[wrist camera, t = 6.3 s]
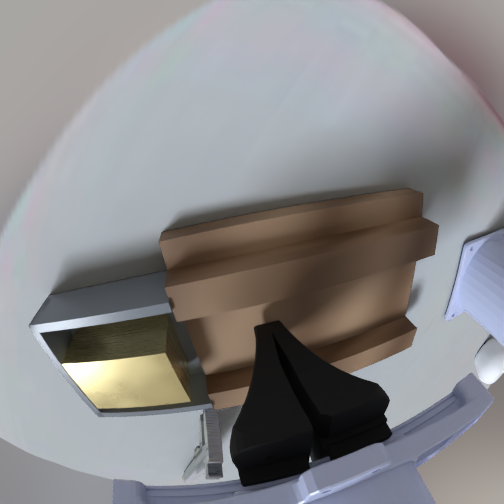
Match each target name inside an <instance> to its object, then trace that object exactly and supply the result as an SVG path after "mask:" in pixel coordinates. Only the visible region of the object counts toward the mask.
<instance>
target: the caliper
mask: <svg viewBox="0 0 504 504" xmlns="http://www.w3.org/2000/svg"><path fill="white" fill-rule="evenodd" d="M222 463H223V453H222V441H221V432H220V426H219V419H218V412H217V410H215V408H214V407H213V408H208V409H203V415H200V446H197V447H196V449H195V458H194V459H193V461H192V462H191V464H190V465H189V466H188V468H187V469H186V470H185V471H184V474H183V478H182V479H183V480H184V483H192V482H193V481H195V480H196V479H197V478H198V477H200V476H201V475H206V479H219V478H223V472H222Z"/></svg>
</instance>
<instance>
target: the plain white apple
mask: <svg viewBox="0 0 504 504" xmlns="http://www.w3.org/2000/svg"><path fill="white" fill-rule="evenodd" d="M475 365H476V369H477V373H478V376H479V378H480V380H481V381H483V382H484V383H487V384H491V383H494V382H495V381H496V380H497V379H498V378H499V377H500V376H501V375H502V373H503V372H504V346H503V345H502V344H501V343H499V342H498V341H497V340H496V339H489V340H487V342H486V343H485V344H484V345H483V346H482V347H481V349H480V350H479V352H478V353H477V354H476V357H475Z"/></svg>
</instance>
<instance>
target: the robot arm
mask: <svg viewBox="0 0 504 504" xmlns="http://www.w3.org/2000/svg"><path fill="white" fill-rule="evenodd" d="M464 311H466V312H467V313H468V314H469V315H470V316H471V317H472V318H474V319H475V320H476V321H477V322H478V323H479V324H480V325H481V326H482V327H484V328H485V329H486V330H487V331H488V332H489V333H490V334H491V335H492V336H493V337H494V338H495V339H496V340H497V341H498V342H499V343H501V344H502V345H503V346H504V228H503V229H500V230H498V231H495V232H493V233H490V234H488V235H485V236H483V237H480V238H478V239H475V240H472V241H470V242H467V243H466V244H465V245H464V247H463V251H462V256H461V261H460V265H459V269H458V273H457V277H456V281H455V285H454V289H453V292H452V296H451V299H450V302H449V306H448V309H447V312H446V315H445V319H446V320H447V321H449V320H451V319H453V318H454V317H456V316H458V315H459V314H461V313H463V312H464ZM254 333H255V338H256V351H255V362H254V369H253V374H252V379H251V383H250V387H249V390H248V393H247V397H246V399H245V402H244V404H243V407H242V409H241V412H240V414H239V416H238V418H237V420H236V422H235V424H234V426H233V429H232V434H231V439H230V454H231V458H232V462H233V463H234V464H235V466H236V467H237V469H238V472H239V477H240V479H239V480H233V481H226V482H218V483H209V484H197V485H180V486H145V485H144V484H143V483H141V482H139V481H134V480H120V479H114V480H113V504H436V503H435V501H434V499H433V497H432V495H431V493H430V492H429V490H428V488H427V486H426V485H425V483H424V481H423V479H422V477H421V476H420V474H419V472H418V471H417V469H416V468H417V467H418V466H420V465H421V464H423V463H424V462H426V461H427V460H429V459H430V458H432V457H433V456H434V455H436V454H437V453H439V452H440V451H441V450H442V449H444V448H445V447H447V446H448V445H449V444H450V443H451V442H453V441H454V440H455V439H456V438H458V437H459V436H460V435H462V434H463V433H464V432H465V431H466V430H467V429H469V428H470V427H471V426H472V425H473V424H475V423H476V421H477V420H478V419H479V418H480V417H481V416H482V415H483V413H484V412H485V411H486V410H487V409H488V408H489V406H490V405H491V404H492V402H494V398H493V397H492V396H491V394H490V393H489V392H488V391H487V389H486V388H485V387H484V386H483V385H482V384H481V382H480V381H479V380H478V379H477V378H476V377H475V375H474V374H473V373H470V374H469V375H467V376H466V377H465V378H463V379H462V380H461V381H460V382H458V383H457V385H456V386H455V387H454V389H453V391H452V392H451V393H450V394H448V395H447V396H446V397H444V398H443V399H441V400H440V401H438V402H437V403H435V404H434V405H432V406H431V407H429V408H427V409H426V410H424V411H423V412H421V413H419V414H418V415H416V416H414V417H412V418H411V419H409V420H407V421H405V422H404V423H402V424H400V425H398V426H396V427H394V428H392V429H391V430H390V428H389V427H388V425H387V423H386V422H387V418H386V417H385V415H384V413H385V411H386V409H387V407H388V404H389V401H390V400H389V397H388V396H387V394H386V393H385V391H384V390H383V389H382V388H381V387H380V386H379V385H378V384H377V383H374V382H371V381H367V380H364V379H361V378H358V377H356V376H353V375H351V374H349V373H347V372H345V371H343V370H340V369H338V368H336V367H335V366H333V365H331V364H329V363H328V362H326V361H325V360H323V359H322V358H320V357H319V356H317V355H316V354H315V353H313V352H312V351H311V350H309V349H308V348H307V347H306V346H305V345H303V344H302V343H301V342H300V341H299V340H298V339H297V338H296V337H295V336H294V335H293V334H292V333H291V332H290V331H289V330H288V329H287V328H286V327H285V326H284V325H283V323H282V322H281V321H279V320H277V321H273V322H269V323H265V324H261V325H256V326H255V327H254ZM309 457H311V460H312V462H310V463H309Z"/></svg>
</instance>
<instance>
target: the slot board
mask: <svg viewBox="0 0 504 504" xmlns="http://www.w3.org/2000/svg"><path fill="white" fill-rule="evenodd" d="M422 205H423V193H421V192H418V191H416V190H413V189H410V188H408V189H400V190H393V191H385V192H378V193H371V194H364V195H357V196H350V197H344V198H337V199H331V200H325V201H319V202H313V203H307V204H301V205H295V206H289V207H284V208H278V209H273V210H267V211H262V212H257V213H251V214H246V215H241V216H236V217H231V218H226V219H221V220H216V221H211V222H206V223H202V224H197V225H192V226H188V227H183V228H179V229H174V230H170V231H165V232H162V233H161V237H160V240H159V244H160V248H161V251H162V254H163V258H164V261H165V264H166V268H167V275H166V281H165V291H166V294H167V296H168V299H169V302H170V305H171V308H172V310H173V313H174V316H175V318H176V321H177V322H180V321H185V324H186V327H187V329H188V332H189V335H190V337H191V340H192V343H193V345H194V348H195V350H196V353H197V355H198V358H199V360H200V363H201V365H202V368H203V370H204V372H205V375H206V383H207V392H208V396H209V398H210V400H211V402H212V404H213V406H214V408H215V410H217V409H223V408H228V407H233V406H238V405H243V404H244V402H245V399H246V397H247V393H248V390H249V387H250V383H251V379H252V374H253V369H254V362H255V351H256V338H255V333H254V327H255V326H256V325H261V324H265V323H269V322H273V321H277V320H279V321H281V322H282V323H283V325H284V326H285V327H286V328H287V329H288V330H289V331H290V332H291V333H292V334H293V335H294V336H295V337H296V338H297V339H298V340H299V341H300V342H301V343H302V344H303V345H305V346H306V347H307V348H308V349H309V350H311V351H312V352H313V353H315V354H316V355H317V356H319V357H320V358H322V359H323V360H325V361H326V362H328V363H329V364H331V365H333V366H335V367H336V368H338V369H340V370H343V371H345V372H347V373H352V372H354V371H357V370H359V369H362V368H364V367H367V366H369V365H372V364H374V363H376V362H379V361H381V360H383V359H385V358H388V357H390V356H392V355H394V354H396V353H399V352H401V351H403V350H405V349H407V348H409V347H411V345H412V342H413V339H414V336H415V333H416V330H417V328H416V327H415V326H414V325H413V324H412V323H411V322H410V321H409V319H408V318H407V317H406V316H405V314H406V310H407V306H408V302H409V297H410V292H411V287H412V282H413V277H414V271H415V265H416V261H418V260H421V259H423V258H426V257H429V256H432V255H435V249H436V243H437V236H438V228H439V225H437V224H435V223H434V222H432V221H430V220H428V219H426V218H424V217H422Z"/></svg>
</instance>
